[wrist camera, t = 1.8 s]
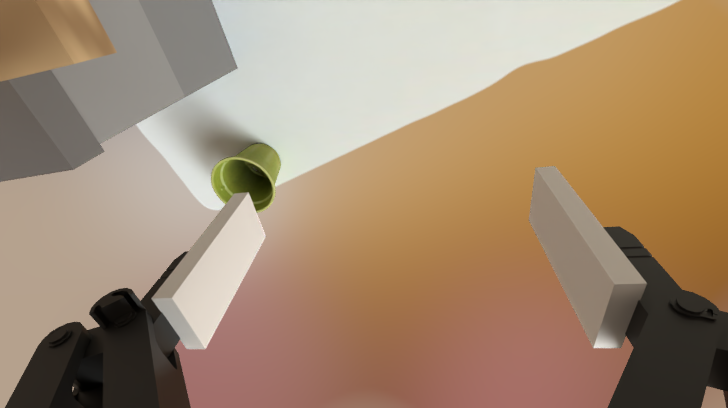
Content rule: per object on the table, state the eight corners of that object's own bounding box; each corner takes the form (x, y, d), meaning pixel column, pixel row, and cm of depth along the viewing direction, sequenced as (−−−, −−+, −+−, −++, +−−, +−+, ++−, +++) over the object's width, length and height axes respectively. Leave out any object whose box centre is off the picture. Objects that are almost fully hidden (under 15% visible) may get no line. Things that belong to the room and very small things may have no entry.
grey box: (67, -43, 43) (-387, -67, 18) (185, -80, 40) (-176, -169, 15) (140, 92, 52) (-99, 198, 27) (242, 71, 49) (73, 169, 24)
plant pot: (301, 156, 56) (286, 182, 48) (275, 194, 60) (257, 223, 53) (250, 121, 53) (225, 144, 46) (226, 164, 58) (201, 191, 51)
